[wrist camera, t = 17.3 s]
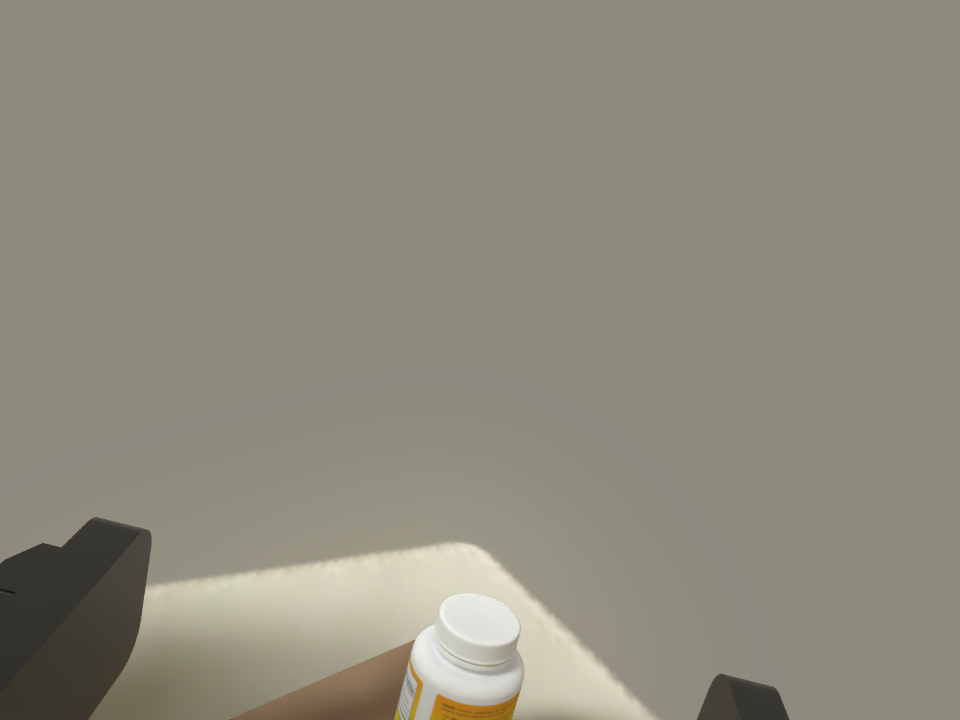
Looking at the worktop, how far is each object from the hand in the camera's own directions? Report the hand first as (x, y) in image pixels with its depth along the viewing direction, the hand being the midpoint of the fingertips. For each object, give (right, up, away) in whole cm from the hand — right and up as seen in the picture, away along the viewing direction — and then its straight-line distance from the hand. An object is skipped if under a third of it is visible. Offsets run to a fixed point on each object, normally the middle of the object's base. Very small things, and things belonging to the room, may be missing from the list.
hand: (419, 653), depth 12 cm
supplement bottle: (-2, -18, +32) cm, 37 cm away
